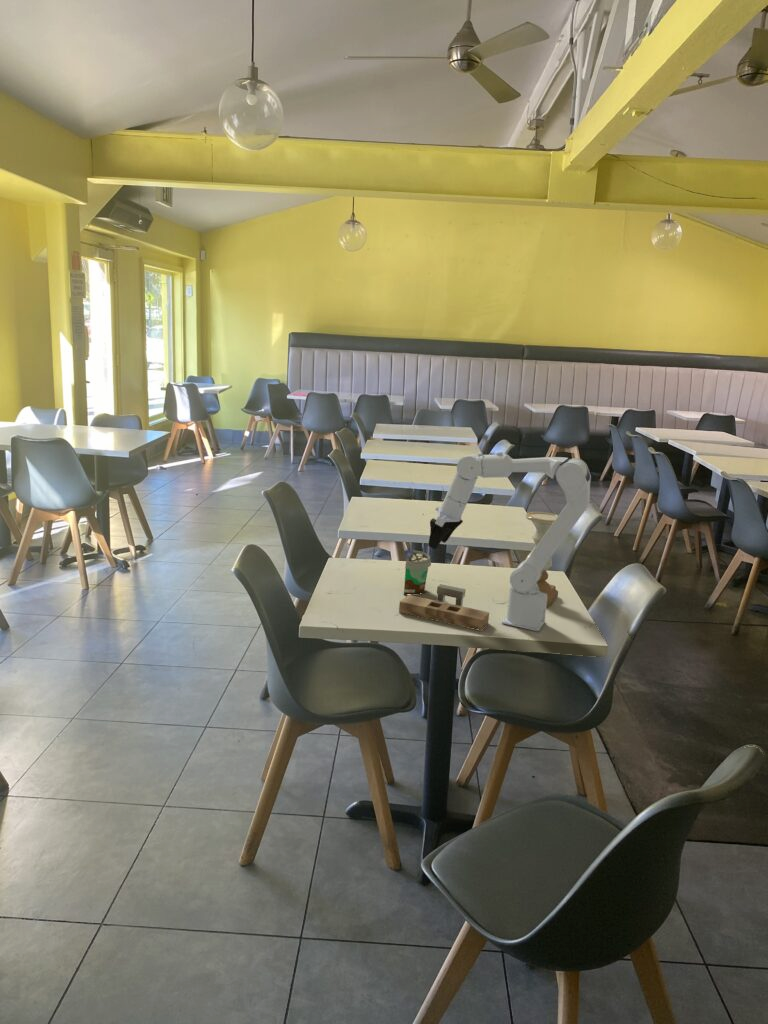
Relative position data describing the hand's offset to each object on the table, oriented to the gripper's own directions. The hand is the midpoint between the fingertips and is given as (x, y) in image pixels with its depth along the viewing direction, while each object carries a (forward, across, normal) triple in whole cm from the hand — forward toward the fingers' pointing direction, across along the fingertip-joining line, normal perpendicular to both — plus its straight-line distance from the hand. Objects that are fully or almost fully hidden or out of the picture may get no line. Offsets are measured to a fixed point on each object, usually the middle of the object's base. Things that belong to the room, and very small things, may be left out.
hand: (436, 544), depth 190 cm
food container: (+18, -8, -1) cm, 20 cm away
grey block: (+14, 0, +10) cm, 17 cm away
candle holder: (+9, -22, +27) cm, 36 cm away
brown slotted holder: (+14, +8, +11) cm, 19 cm away
